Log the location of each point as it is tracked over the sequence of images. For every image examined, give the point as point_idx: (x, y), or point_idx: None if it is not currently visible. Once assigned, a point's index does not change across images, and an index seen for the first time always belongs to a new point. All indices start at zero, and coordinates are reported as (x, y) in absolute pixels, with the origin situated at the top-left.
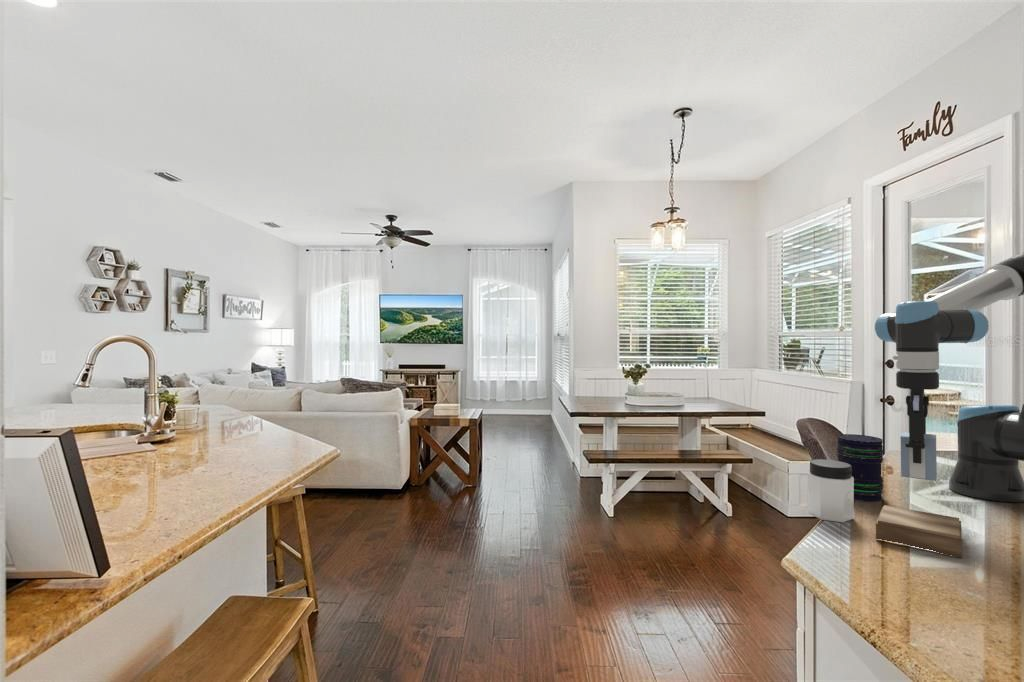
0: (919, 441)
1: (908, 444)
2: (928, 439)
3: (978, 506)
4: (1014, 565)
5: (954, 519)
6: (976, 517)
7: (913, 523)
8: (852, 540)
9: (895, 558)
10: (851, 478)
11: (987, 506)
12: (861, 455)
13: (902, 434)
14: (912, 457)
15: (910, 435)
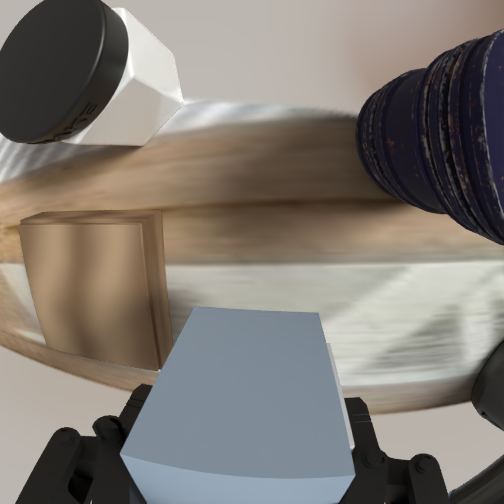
0: (74, 473)
1: (98, 435)
2: None
3: (438, 372)
4: (97, 382)
5: (136, 361)
6: (356, 376)
7: (47, 287)
8: (21, 178)
9: (3, 246)
10: (62, 141)
11: (443, 381)
12: (430, 139)
13: (218, 477)
14: None
15: (38, 470)
